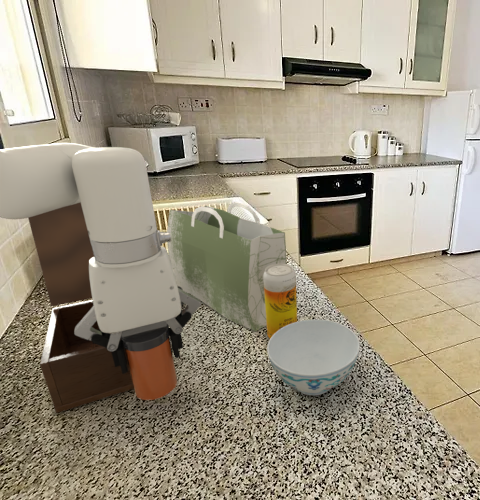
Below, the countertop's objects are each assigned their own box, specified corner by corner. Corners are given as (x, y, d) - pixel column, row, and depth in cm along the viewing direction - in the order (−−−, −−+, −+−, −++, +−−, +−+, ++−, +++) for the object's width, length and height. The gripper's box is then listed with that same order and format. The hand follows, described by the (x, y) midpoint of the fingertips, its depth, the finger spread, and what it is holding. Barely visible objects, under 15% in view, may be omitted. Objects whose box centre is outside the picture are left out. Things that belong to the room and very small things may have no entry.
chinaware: (261, 365, 67) (259, 329, 65) (338, 347, 73) (339, 312, 70) (281, 427, 55) (279, 385, 52) (373, 399, 60) (375, 360, 57)
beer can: (284, 348, 72) (280, 278, 67) (261, 338, 75) (256, 270, 70) (303, 333, 77) (302, 267, 71) (281, 324, 80) (278, 260, 74)
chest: (165, 378, 64) (156, 334, 60) (56, 413, 56) (39, 364, 53) (153, 327, 78) (146, 289, 74) (65, 349, 70) (52, 308, 67)
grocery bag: (300, 306, 87) (297, 210, 79) (253, 332, 77) (244, 225, 68) (217, 270, 105) (207, 188, 96) (169, 287, 94) (154, 197, 86)
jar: (124, 391, 55) (110, 334, 52) (161, 368, 61) (150, 314, 57) (151, 406, 53) (138, 348, 49) (187, 381, 58) (177, 326, 54)
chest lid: (126, 192, 70) (126, 192, 70) (23, 200, 62) (24, 200, 63) (145, 287, 74) (145, 286, 75) (51, 306, 66) (51, 305, 67)
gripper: (192, 228, 56) (206, 331, 62) (47, 248, 47) (81, 365, 54) (203, 244, 50) (217, 355, 56) (39, 270, 41) (79, 398, 48)
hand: (151, 359), depth 55 cm, fingers closed on jar, 6 cm apart
